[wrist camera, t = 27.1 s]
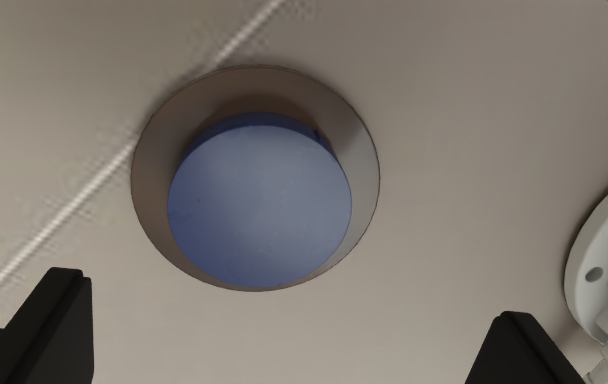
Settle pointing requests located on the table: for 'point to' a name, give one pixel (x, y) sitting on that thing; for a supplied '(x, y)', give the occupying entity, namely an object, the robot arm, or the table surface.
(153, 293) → the table surface
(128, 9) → the table surface
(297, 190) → the jar lid
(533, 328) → the robot arm
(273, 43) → the table surface
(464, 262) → the table surface
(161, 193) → the coaster
